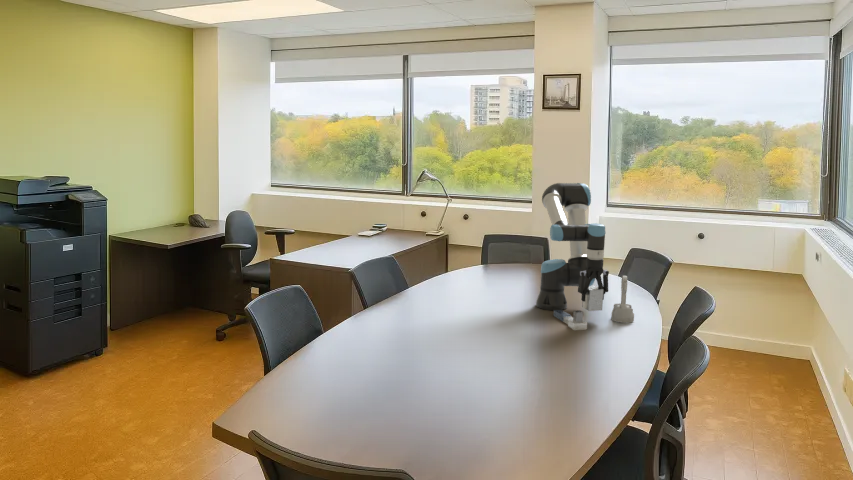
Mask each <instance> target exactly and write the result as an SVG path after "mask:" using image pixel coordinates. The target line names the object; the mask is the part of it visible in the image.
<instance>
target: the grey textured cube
mask: <svg viewBox="0 0 853 480" xmlns="http://www.w3.org/2000/svg"><path fill="white" fill-rule="evenodd" d="M586 294H587V295H588V297H587V309H585V310H586V311H588V312H594V311H595V312H596V311H597V312H598V311H603V304H604V303H603V302H604V300H603V289H602V288H600V287H598V285H591V286H589V287H588V290H587V293H586ZM581 304H582V305H581V307H582V308H583V301H582V300H581Z"/></svg>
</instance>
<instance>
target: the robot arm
mask: <svg viewBox="0 0 853 480" xmlns="http://www.w3.org/2000/svg"><path fill="white" fill-rule="evenodd" d="M591 202H592V192H591V190H590V186H588V185H587V184H586V183H583V182H582V183H581V182H573V183H572V182H568V183H567V182H566V183H565V182H557V183H552V184H550V185H549V186H548V187H547V188H546V189H544V191H543V194H542V197H541V203H542V205H543V207H544V208H545V209H546V211H547V214H548V218H549V219H550V222H551V223H550V224H551V225H550V228H549V237H550V239H551V241H554V242H569V253H570V257H569V258H568V259H567V262H566V260H565V259H562V258H561V259H560V258H559V259H558V258H555V259H548V260H545V261H543V262H542V263H541V264H540V265H541V267H540V285H539V286H540V287H539V288H540V289H539V293H538V296H537V298H536V301H535V306H536V308H538V309H541V310H546V311H554V310H563V311H564V310H566V309H567V308H568V301H567V299H566V294H565V287H577V293H579V294H581V302H582V301H583V307H582V308H583V309H584V310H586V309H587V297H588V295H587V294H586V293H587V290H588V287H589V286H594V283H595V280H596V283H597V286H598V287H600V288H602V289H603V301H604V297H605V294H606V293H608V292H609V273H610V271H609V270H607V269H604V268H603V267H604V256H605V244H606V243H605V240H606V239H605V238H606V226H605V224H602V223H597V222H596V223H587V220H586V219H587V217H586V211H587V210H588V208H589V206H591V204H592V203H591ZM565 212H566V213H567V215H566V213H565ZM601 275H602V276H601Z"/></svg>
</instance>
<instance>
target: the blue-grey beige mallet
mask: <svg viewBox="0 0 853 480" xmlns="http://www.w3.org/2000/svg"><path fill="white" fill-rule="evenodd" d="M572 314H573V316H572V315H571V314H570V313H568V312H566V311H564V309H563V310H553V317H555V318H556V319H558V320H559V321H560V322H563V323H565V324H566V325H567V327H568V328H569V329H571V330H573V331H583V330H587V329H588V322H587V321H585V320H584V319H583V317H584V311H582V310H573V313H572Z"/></svg>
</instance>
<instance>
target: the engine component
mask: <svg viewBox="0 0 853 480" xmlns="http://www.w3.org/2000/svg"><path fill="white" fill-rule="evenodd" d="M620 283H621V285H620V286H621V287H620V289H621V290H620V291H621V294H620V295H621V296H620V303H614V304H613V309H612V311H611V314H610V315H611V317H610V319H611V320H612V321H614V322H617V323H625V324H626V323H633V322H634V321H635V313H634V311H633V310H634V309H633V308H632V305H631V304H630V303H629V304H628V303H627V292H628V276H627V275H622V276H621V281H620Z"/></svg>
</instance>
